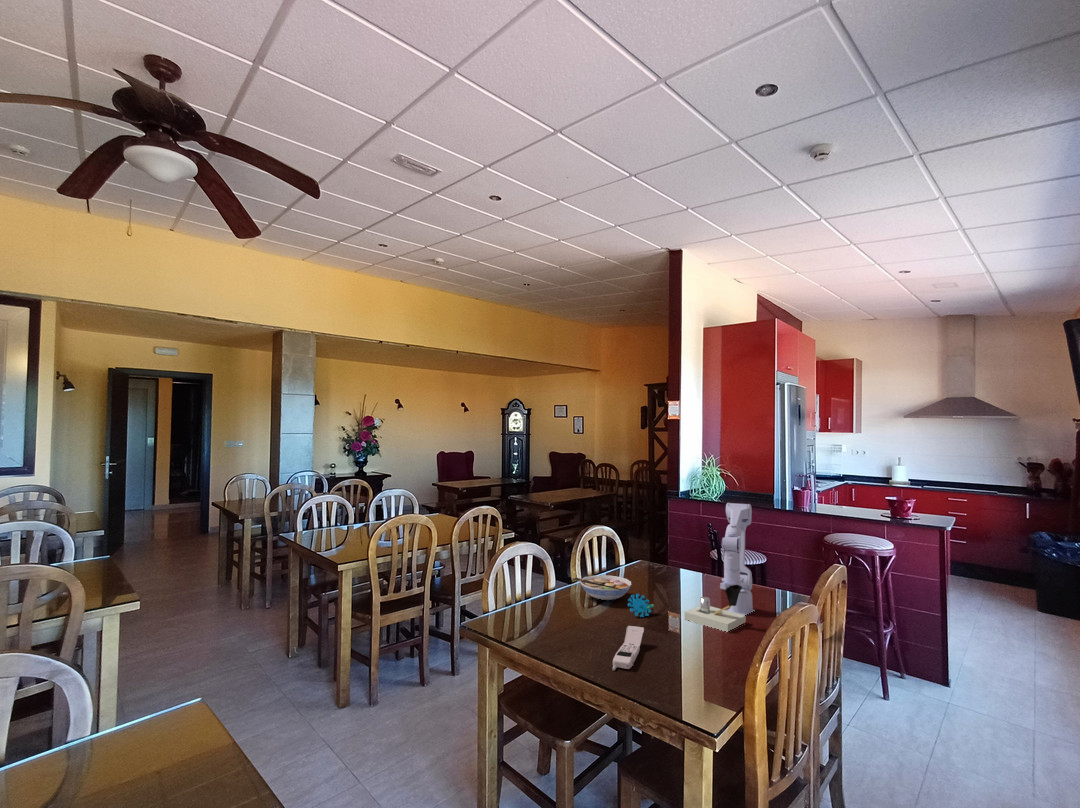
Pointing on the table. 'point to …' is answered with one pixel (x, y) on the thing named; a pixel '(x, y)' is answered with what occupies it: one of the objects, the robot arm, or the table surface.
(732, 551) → the robot arm
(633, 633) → the mobile phone
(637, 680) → the table surface
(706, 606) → the peg
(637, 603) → the blue spiky blob
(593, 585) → the ramen bowl
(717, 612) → the latch
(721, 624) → the cream rectangular slab
